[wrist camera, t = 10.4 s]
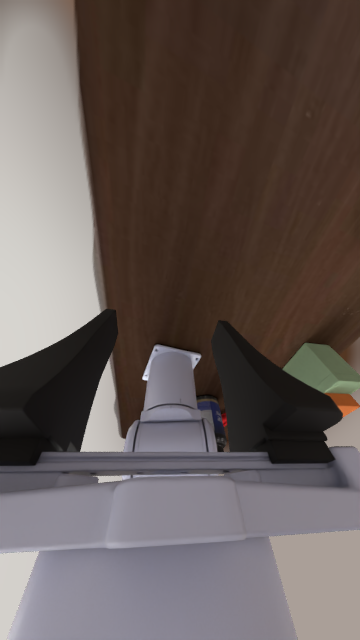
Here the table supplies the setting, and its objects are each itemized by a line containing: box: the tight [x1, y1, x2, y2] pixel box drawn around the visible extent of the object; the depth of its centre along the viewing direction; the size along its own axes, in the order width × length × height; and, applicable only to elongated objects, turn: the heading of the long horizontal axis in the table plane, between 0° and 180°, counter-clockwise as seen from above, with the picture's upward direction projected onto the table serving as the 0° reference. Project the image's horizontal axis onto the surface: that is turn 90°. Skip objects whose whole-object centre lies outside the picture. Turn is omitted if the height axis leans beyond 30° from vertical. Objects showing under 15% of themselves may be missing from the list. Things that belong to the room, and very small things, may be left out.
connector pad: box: [324, 393, 360, 417], centre depth 25 cm, size 6×4×3 cm, turn 172°
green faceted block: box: [282, 343, 360, 394], centre depth 28 cm, size 12×4×7 cm, turn 171°
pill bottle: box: [196, 395, 227, 452], centre depth 33 cm, size 6×6×11 cm
